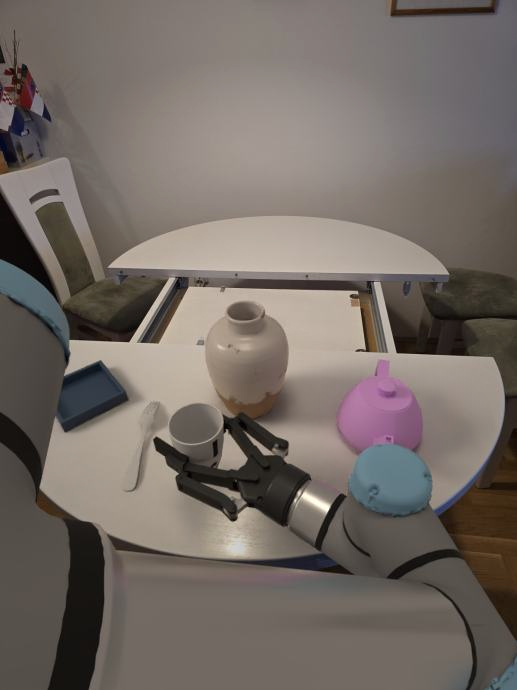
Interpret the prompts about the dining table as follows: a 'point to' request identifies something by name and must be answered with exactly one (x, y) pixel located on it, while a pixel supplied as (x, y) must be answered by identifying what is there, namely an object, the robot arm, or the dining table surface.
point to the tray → (88, 395)
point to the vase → (247, 358)
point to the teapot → (380, 412)
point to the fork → (138, 449)
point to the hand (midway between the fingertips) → (175, 426)
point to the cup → (198, 433)
